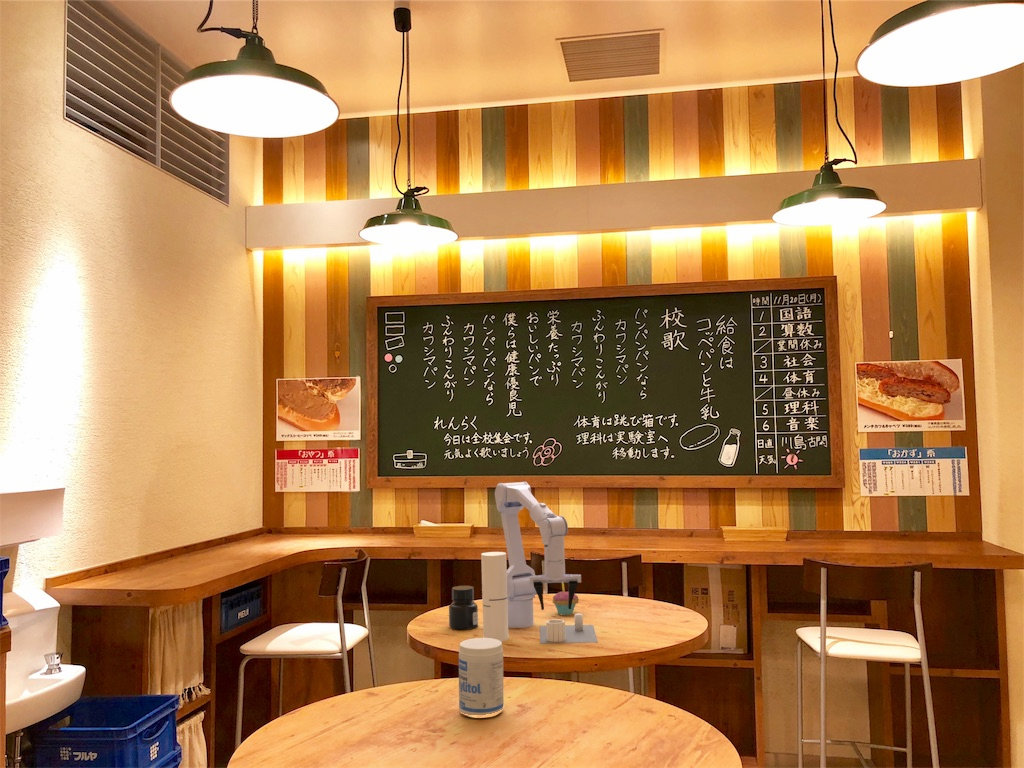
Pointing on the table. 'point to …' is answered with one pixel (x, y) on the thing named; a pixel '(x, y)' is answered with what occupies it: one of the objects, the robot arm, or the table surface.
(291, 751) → the table surface
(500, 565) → the cylindrical container
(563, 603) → the cupcake
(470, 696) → the supplement tub
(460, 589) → the ink bottle
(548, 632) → the sleeve
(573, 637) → the duct board
